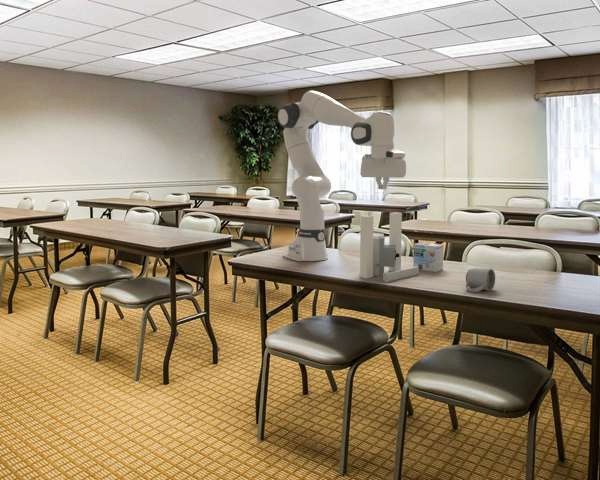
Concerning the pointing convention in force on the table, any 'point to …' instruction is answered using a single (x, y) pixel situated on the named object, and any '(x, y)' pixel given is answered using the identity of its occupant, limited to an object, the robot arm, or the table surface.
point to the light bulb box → (428, 256)
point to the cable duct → (400, 273)
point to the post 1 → (366, 247)
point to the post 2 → (395, 237)
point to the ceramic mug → (480, 279)
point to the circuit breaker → (382, 255)
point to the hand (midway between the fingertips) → (382, 189)
